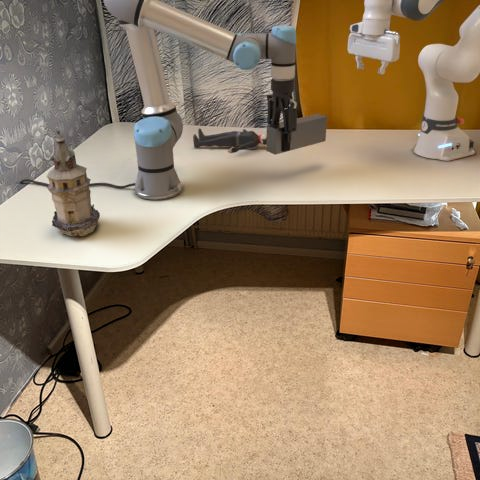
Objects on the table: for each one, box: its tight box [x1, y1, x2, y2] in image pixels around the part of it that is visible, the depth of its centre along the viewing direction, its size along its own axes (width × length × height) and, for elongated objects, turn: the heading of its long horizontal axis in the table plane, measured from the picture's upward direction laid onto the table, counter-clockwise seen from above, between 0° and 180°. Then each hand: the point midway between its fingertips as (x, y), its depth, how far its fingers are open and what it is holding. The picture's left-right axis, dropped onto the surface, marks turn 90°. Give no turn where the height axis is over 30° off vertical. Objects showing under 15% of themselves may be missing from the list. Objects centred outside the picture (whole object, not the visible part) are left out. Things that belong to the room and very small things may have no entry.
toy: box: [192, 128, 267, 155], centre depth 214 cm, size 26×6×30 cm
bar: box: [265, 113, 328, 155], centre depth 182 cm, size 23×5×9 cm, turn 125°
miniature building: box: [46, 129, 101, 237], centre depth 148 cm, size 13×14×30 cm
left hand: (280, 148), depth 181 cm, fingers closed on bar, 5 cm apart
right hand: (370, 71), depth 182 cm, fingers open, 8 cm apart
